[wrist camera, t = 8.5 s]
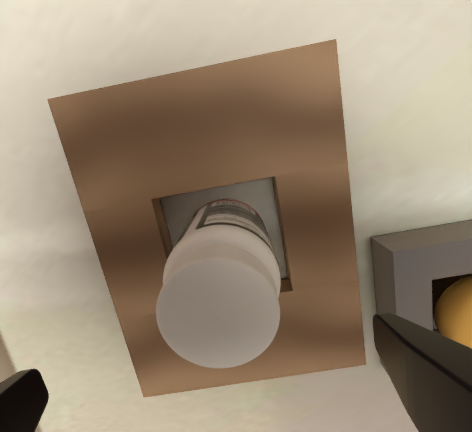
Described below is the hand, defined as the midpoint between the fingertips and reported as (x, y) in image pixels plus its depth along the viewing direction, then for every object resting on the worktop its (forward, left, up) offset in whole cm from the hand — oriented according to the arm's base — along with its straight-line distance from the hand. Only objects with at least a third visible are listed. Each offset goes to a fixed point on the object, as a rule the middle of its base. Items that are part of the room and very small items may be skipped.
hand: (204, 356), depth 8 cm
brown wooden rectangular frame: (0, 0, -10) cm, 10 cm away
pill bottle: (0, 0, -10) cm, 10 cm away
